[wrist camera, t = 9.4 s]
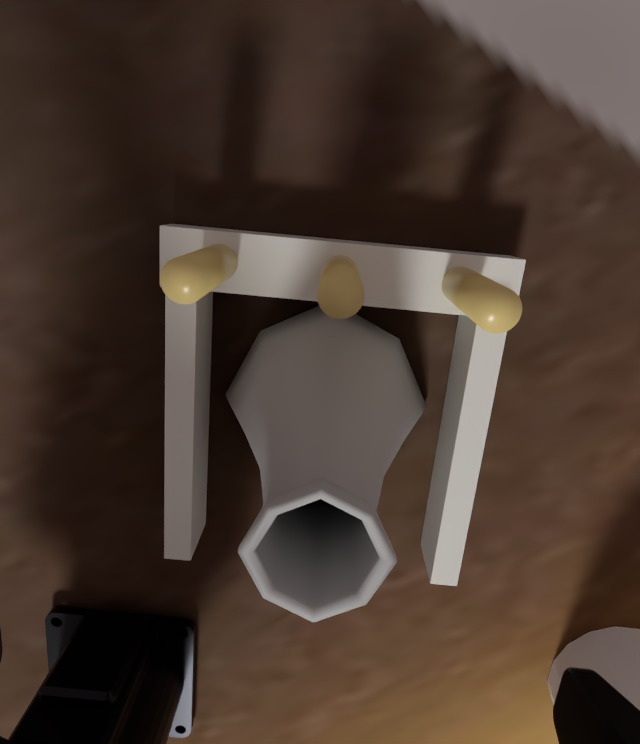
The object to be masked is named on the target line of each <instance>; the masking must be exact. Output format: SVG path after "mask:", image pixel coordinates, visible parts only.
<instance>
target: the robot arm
mask: <svg viewBox="0 0 640 744" xmlns="http://www.w3.org/2000/svg"><path fill="white" fill-rule="evenodd" d="M56 617H57V618H60V619H61V620H58V619H57V618H56ZM45 625H46V639H47V653H48V666H49V673H48V675H47V677H46V678H45V680H44V681H43V683H42V685H41V686H40V688H39V690H38V692H37V693H36V695H35V696H34V698H33V700H32V701H31V703H30V705H29V706H28V708H27V710H26V711H25V713H24V714H23V716H22V718H21V719H20V721H19V723H18V724H17V726H16V728H15V729H14V731H13V732H12V734H11V736H10V737H9V739H8V740H7V739H5V738H3V737H1V736H0V744H166V743H167V740H168V737H179V738H183V737H187V736H188V735H189V734H190V733H191V730H192V726H193V718H194V681H195V644H196V626H195V624H194V623H193V621H191V620H190V619H186V618H179V617H168V616H157V615H147V614H136V613H126V612H115V611H105V610H94V609H84V608H73V607H62V606H58V607H54V608H52V610H51V611H50V612H49V614H48V615H47V617H46V619H45ZM181 629H183V630H186V631H187V632H183V631H181ZM1 658H2V640H1V630H0V662H1ZM553 719H554V725H555V729H556V733H557V737H558V741H559V744H640V710H639V709H638V708H636V707H635V706H634V705H633V704H632V703H631V702H630V701H628V700H627V699H626V698H625V697H624V696H623V695H622V694H621V693H619V692H618V691H617V690H616V689H615V688H614V687H613V686H612V685H610V684H609V683H608V682H607V681H606V680H605V679H604V678H603V677H601V676H600V675H599V674H598V673H597V672H595V671H593V670H591V669H584V668H574V667H569V668H567V669H566V670H565V671H564V672H563V675H562V678H561V682H560V685H559V689H558V692H557V696H556V699H555V703H554V707H553Z"/></svg>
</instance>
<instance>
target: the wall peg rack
mask: <svg viewBox="0 0 640 744" xmlns="http://www.w3.org/2000/svg"><path fill="white" fill-rule="evenodd" d="M525 263H526V260H524V259H521V258H518V257H515V256H510V255H499V254H489V253H478V252H468V251H457V250H446V249H436V248H425V247H414V246H404V245H393V244H383V243H372V242H361V241H351V240H340V239H330V238H319V237H308V236H298V235H287V234H276V233H266V232H255V231H245V230H234V229H223V228H213V227H202V226H191V225H181V224H167V225H160V287H161V288H162V290H163V292H164V293H165V465H164V558H165V559H176V560H187V561H191V559H192V556H193V554H194V551H195V549H196V546H197V544H198V541H199V539H200V537H201V534H202V532H203V529H204V527H205V524H206V502H207V470H208V439H209V407H210V375H211V344H212V312H213V292H222V293H233V294H243V295H254V296H264V297H275V298H286V299H296V300H307V301H317V302H318V304H319V306H320V308H321V309H322V311H323V312H324V313H325V314H327V315H328V316H330V317H332V318H336V319H345V318H349V317H351V316H353V315H355V314H356V313H357V312H358V311H359V310H360V308H361V307H362V306H370V307H381V308H392V309H402V310H413V311H423V312H434V313H445V314H455V315H459V317H458V323H457V329H456V335H455V341H454V347H453V353H452V359H451V365H450V371H449V377H448V383H447V389H446V395H445V401H444V407H443V413H442V419H441V424H440V430H439V436H438V442H437V448H436V454H435V460H434V466H433V472H432V478H431V484H430V490H429V496H428V502H427V508H426V514H425V520H424V526H423V532H422V537H421V543H420V544H421V548H422V552H423V556H424V560H425V564H426V568H427V572H428V576H429V581H430V584H440V585H451V586H457V583H458V578H459V573H460V568H461V563H462V557H463V552H464V547H465V542H466V537H467V532H468V527H469V522H470V517H471V512H472V507H473V501H474V496H475V491H476V486H477V481H478V476H479V471H480V466H481V461H482V456H483V451H484V445H485V440H486V435H487V430H488V425H489V420H490V415H491V410H492V405H493V400H494V395H495V390H496V384H497V379H498V374H499V369H500V364H501V359H502V354H503V349H504V344H505V339H506V334H507V331H508V330H510V329H512V328H513V327H514V326H515V325H516V324H517V322H518V321H519V319H520V317H521V314H522V303H521V300H520V298H519V293H520V288H521V283H522V278H523V273H524V268H525Z"/></svg>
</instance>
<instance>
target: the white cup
mask: <svg viewBox="0 0 640 744" xmlns="http://www.w3.org/2000/svg"><path fill="white" fill-rule="evenodd" d="M569 667H574V668H584V669H591V670H593V671H595V672H597V673H598V674H599V675H600V676H601V677H603V678H604V679H605V680H606V681H607V682H608V683H609V684H610V685H612V686H613V687H614V688H615V689H616V690H617V691H618V692H619V693H621V694H622V695H623V696H624V697H625V698H626V699H627V700H628V701H630V702H631V703H632V704H633V705H634V706H635V707H636V708H638V709H639V710H640V629H637V628H627V627H617V626H614V627H609V628H604V629H600V630H595V631H590V632H588V633H586V634H584V635H583V636H581V637H579V638H577V639H576V640H574V641H572V642H570V643H569V644H567V645H566V647H565V648H564V649H563V650H562V651H561V652H560V654H559V655H558V656H557V657H556V658H555V659H554V661H553V663H552V666H551V670H550V673H549V677H548V680H547V681H548V685H549V689H550V694H551V698H552V701H553V704H554V703H555V699H556V696H557V692H558V689H559V685H560V682H561V678H562V675H563V672H564V671H565V670H566V669H567V668H569Z"/></svg>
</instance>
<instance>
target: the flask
mask: <svg viewBox="0 0 640 744" xmlns="http://www.w3.org/2000/svg"><path fill="white" fill-rule="evenodd" d="M225 395H226V397H227V399H228V401H229V404H230V406H231V408H232V410H233V411H234V413H235V415H236V417H237V419H238V421H239V423H240V425H241V427H242V429H243V431H244V433H245V435H246V437H247V440H248V442H249V444H250V447H251V449H252V451H253V454H254V456H255V458H256V461H257V463H258V465H259V468H260V474H261V484H262V494H263V507H262V509H261V511H260V512H259V514H258V516H257V517H256V519H255V520H254V522H253V524H252V525H251V527H250V529H249V530H248V532H247V534H246V535H245V537H244V538H243V540H242V542H241V543H240V545H239V548H238V554H239V555H240V557H241V559H242V561H243V563H244V564H245V566H246V568H247V570H248V572H249V573H250V575H251V577H252V579H253V581H254V583H255V584H256V586H257V588H258V590H259V592H260V593H261V595H262V597H263V598H264V599H266V600H268V601H270V602H272V603H274V604H276V605H278V606H280V607H282V608H285V609H287V610H289V611H291V612H293V613H295V614H297V615H299V616H301V617H303V618H305V619H307V620H309V621H311V622H316V621H319V620H322V619H325V618H328V617H331V616H334V615H337V614H340V613H343V612H346V611H349V610H352V609H355V608H358V607H361V606H364V605H366V604H367V603H368V601H369V600H370V599H371V597H372V596H373V595H374V593H375V592H376V590H377V589H378V588H379V586H380V585H381V584H382V582H383V581H384V579H385V578H386V577H387V575H388V574H389V573H390V571H391V570H392V568H393V567H394V566H395V564H396V563H397V556H396V554H395V552H394V549H393V547H392V545H391V543H390V541H389V538H388V536H387V534H386V532H385V530H384V528H383V525H382V523H381V521H380V519H379V517H378V514H377V506H378V501H379V497H380V492H381V487H382V483H383V478H384V475H385V473H386V472H387V470H388V468H389V466H390V465H391V463H392V461H393V459H394V458H395V456H396V454H397V452H398V450H399V449H400V447H401V445H402V443H403V442H404V440H405V439H406V437H407V436H408V434H409V433H410V431H411V430H412V428H413V427H414V425H415V424H416V422H417V421H418V419H419V418H420V416H421V415H422V413H423V411H424V410H425V408H426V404H425V401H424V399H423V396H422V394H421V391H420V389H419V386H418V384H417V381H416V379H415V376H414V374H413V371H412V369H411V367H410V364H409V362H408V359H407V357H406V354H405V352H404V349H403V347H402V344H401V342H400V339H399V338H397V337H395V336H393V335H392V334H390V333H388V332H386V331H385V330H383V329H381V328H379V327H378V326H376V325H374V324H372V323H371V322H369V321H367V320H365V319H364V318H362V317H360V316H358V315H357V314H355V315H353V316H351V317H349V318H345V319H336V318H332V317H330V316H328V315H327V314H325V313H324V312H323V311H322V309H321V308H320V306H317V307H315V308H312V309H310V310H308V311H305V312H303V313H301V314H298V315H296V316H293V317H291V318H289V319H286V320H284V321H282V322H279V323H277V324H275V325H272V326H270V327H268V328H265V329H263V330H261V331H260V332H259V334H258V336H257V337H256V339H255V341H254V343H253V345H252V347H251V348H250V350H249V352H248V354H247V356H246V357H245V359H244V361H243V363H242V365H241V367H240V368H239V370H238V372H237V374H236V376H235V378H234V379H233V381H232V383H231V385H230V387H229V389H228V390H227V392H226V394H225Z"/></svg>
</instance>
